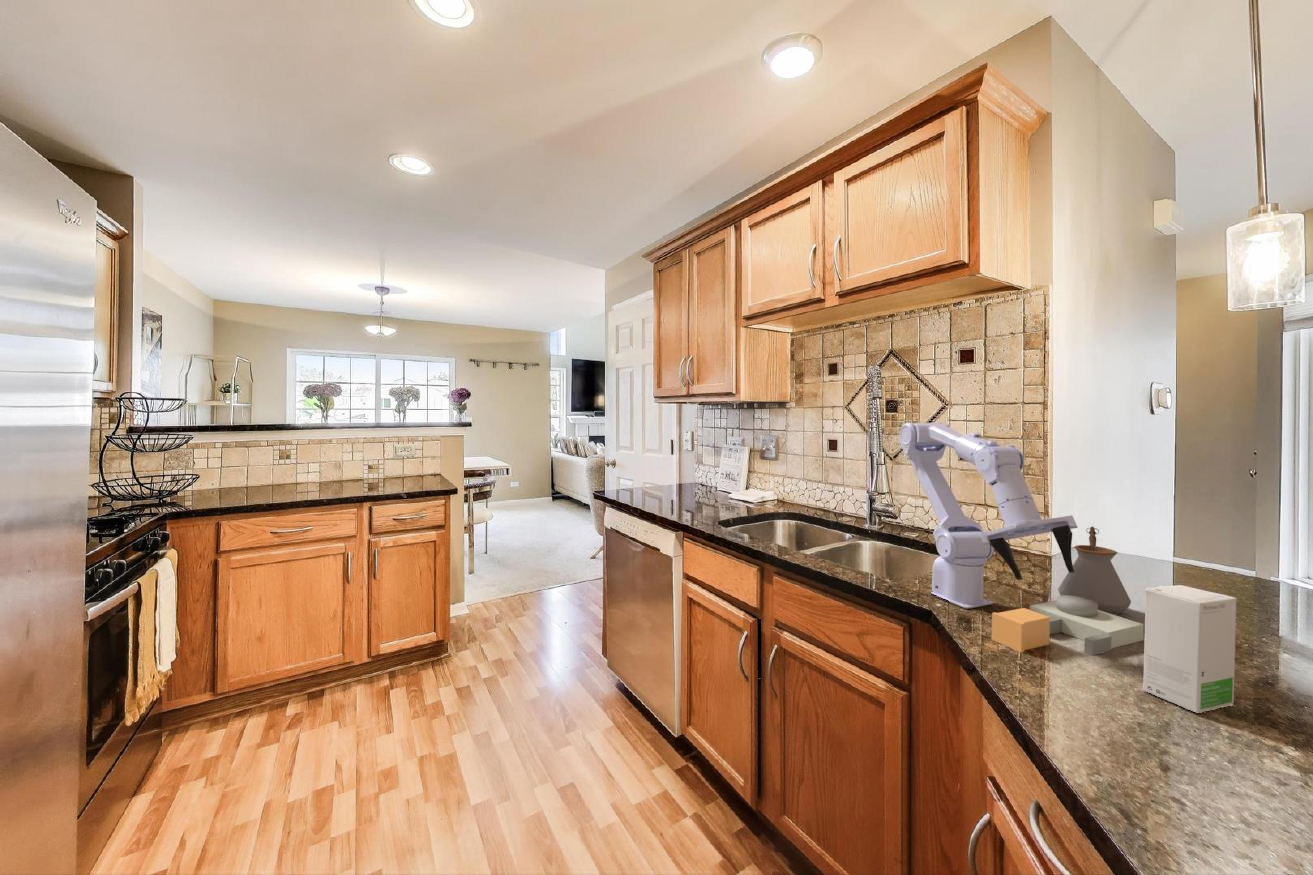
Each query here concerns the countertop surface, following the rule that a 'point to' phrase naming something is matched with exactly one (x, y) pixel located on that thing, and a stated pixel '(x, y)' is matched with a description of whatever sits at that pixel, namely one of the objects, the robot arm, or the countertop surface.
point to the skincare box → (1190, 647)
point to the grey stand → (1089, 623)
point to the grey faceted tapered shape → (1096, 578)
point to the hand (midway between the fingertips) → (1044, 575)
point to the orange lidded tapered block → (1020, 629)
